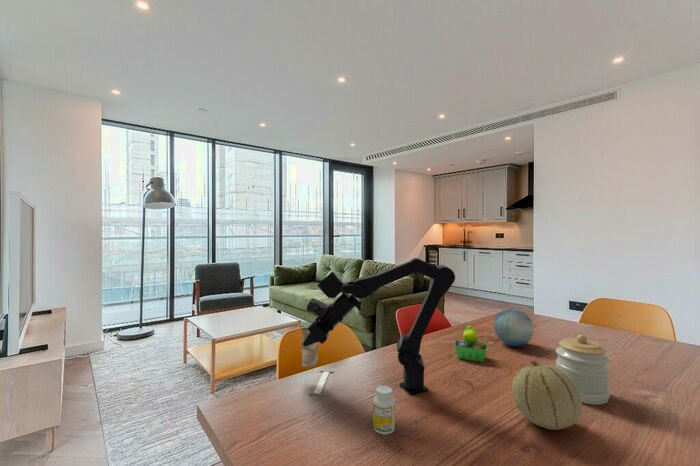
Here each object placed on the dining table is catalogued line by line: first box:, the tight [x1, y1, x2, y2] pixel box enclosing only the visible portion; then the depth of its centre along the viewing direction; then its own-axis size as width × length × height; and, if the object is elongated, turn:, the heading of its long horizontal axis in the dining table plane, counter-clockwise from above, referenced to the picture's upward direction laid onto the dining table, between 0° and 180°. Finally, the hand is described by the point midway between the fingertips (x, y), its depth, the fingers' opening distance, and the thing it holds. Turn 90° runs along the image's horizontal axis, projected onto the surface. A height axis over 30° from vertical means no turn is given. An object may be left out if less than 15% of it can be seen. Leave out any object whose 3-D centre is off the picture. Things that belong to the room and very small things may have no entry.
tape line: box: [308, 369, 334, 397], centre depth 101 cm, size 16×4×1 cm, turn 173°
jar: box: [555, 334, 611, 406], centre depth 95 cm, size 13×13×18 cm
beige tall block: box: [301, 323, 318, 367], centre depth 102 cm, size 4×4×12 cm
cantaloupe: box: [511, 360, 583, 431], centre depth 80 cm, size 15×15×15 cm
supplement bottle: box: [372, 384, 396, 436], centre depth 78 cm, size 5×5×10 cm
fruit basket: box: [454, 325, 488, 363], centre depth 122 cm, size 11×9×11 cm
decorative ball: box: [493, 308, 535, 347], centre depth 135 cm, size 15×15×15 cm
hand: (305, 342), depth 102 cm, fingers closed on beige tall block, 4 cm apart
